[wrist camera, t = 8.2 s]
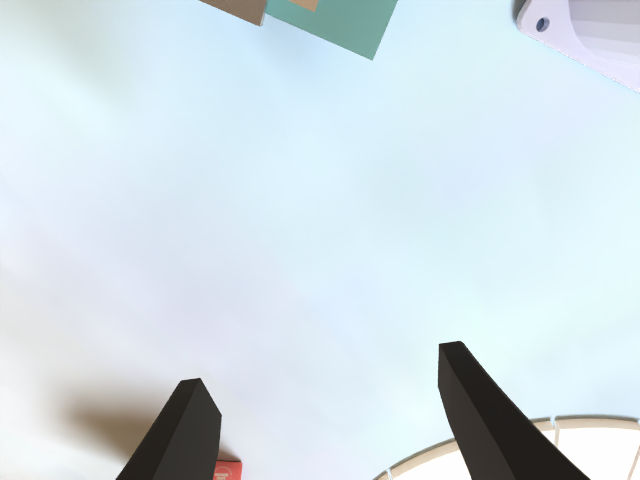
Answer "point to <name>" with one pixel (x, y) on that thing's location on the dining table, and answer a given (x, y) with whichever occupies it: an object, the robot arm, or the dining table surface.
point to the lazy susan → (567, 435)
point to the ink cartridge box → (227, 470)
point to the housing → (253, 8)
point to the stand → (340, 21)
